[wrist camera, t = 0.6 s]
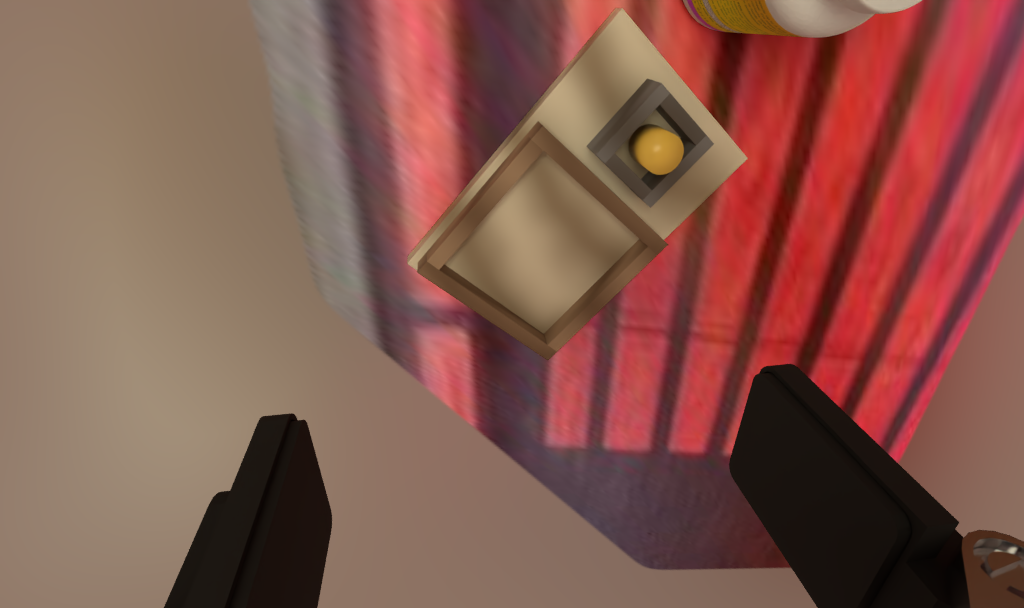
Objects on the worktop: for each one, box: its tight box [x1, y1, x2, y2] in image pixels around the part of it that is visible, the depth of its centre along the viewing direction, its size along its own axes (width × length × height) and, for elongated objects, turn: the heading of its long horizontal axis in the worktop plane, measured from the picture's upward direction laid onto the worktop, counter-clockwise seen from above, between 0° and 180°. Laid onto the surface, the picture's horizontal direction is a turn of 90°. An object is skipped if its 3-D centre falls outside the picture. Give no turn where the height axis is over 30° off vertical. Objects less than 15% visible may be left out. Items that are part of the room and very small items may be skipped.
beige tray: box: [407, 8, 748, 360], centre depth 34 cm, size 20×13×3 cm, turn 138°
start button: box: [629, 124, 684, 175], centre depth 31 cm, size 2×2×3 cm
